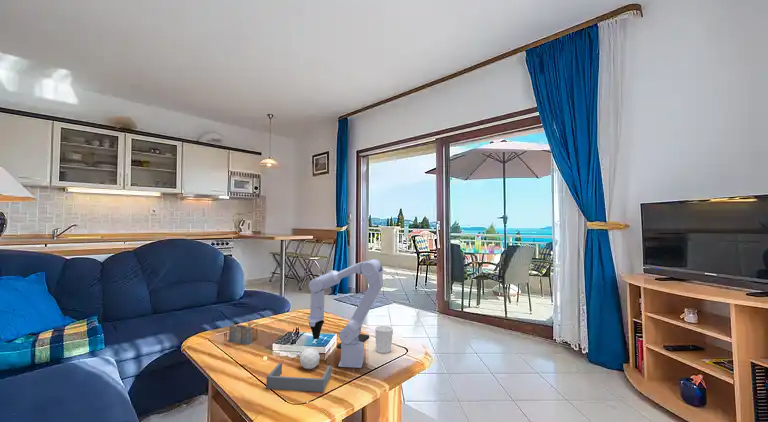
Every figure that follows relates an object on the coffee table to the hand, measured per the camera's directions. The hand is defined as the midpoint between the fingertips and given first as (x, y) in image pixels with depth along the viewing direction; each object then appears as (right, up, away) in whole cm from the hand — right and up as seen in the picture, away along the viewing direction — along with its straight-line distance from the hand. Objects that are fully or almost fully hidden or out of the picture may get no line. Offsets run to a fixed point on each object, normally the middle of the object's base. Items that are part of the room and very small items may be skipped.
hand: (316, 338), depth 142 cm
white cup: (+29, -10, +11) cm, 32 cm away
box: (-2, -8, -21) cm, 23 cm away
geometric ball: (-1, -8, -9) cm, 12 cm away
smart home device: (+14, -10, +20) cm, 26 cm away
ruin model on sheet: (-39, -9, +17) cm, 44 cm away
